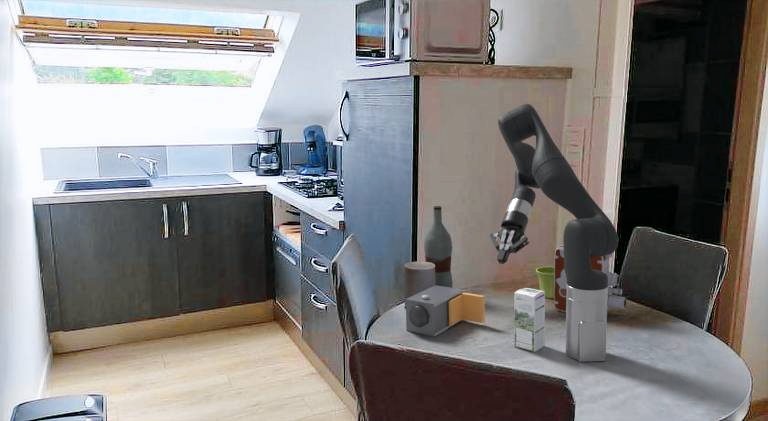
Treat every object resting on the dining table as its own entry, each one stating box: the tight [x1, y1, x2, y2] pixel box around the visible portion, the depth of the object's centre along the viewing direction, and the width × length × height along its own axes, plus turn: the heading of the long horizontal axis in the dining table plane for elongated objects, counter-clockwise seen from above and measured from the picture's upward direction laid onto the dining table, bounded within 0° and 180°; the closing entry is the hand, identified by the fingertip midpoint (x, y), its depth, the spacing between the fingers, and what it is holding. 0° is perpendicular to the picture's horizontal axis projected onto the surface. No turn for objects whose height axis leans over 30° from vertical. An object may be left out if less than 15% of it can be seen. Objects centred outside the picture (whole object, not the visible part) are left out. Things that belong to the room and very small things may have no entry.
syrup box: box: [513, 287, 546, 353], centre depth 142 cm, size 6×6×14 cm
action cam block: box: [405, 285, 464, 338], centre depth 159 cm, size 17×9×10 cm, turn 145°
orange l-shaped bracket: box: [449, 292, 486, 327], centre depth 157 cm, size 8×7×8 cm
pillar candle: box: [403, 260, 435, 310], centre depth 175 cm, size 10×10×15 cm
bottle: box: [423, 205, 454, 288], centre depth 186 cm, size 9×9×30 cm
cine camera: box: [553, 244, 628, 313], centre depth 165 cm, size 9×19×20 cm, turn 53°
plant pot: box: [535, 266, 554, 299], centre depth 184 cm, size 9×9×9 cm
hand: (500, 262), depth 171 cm, fingers closed
